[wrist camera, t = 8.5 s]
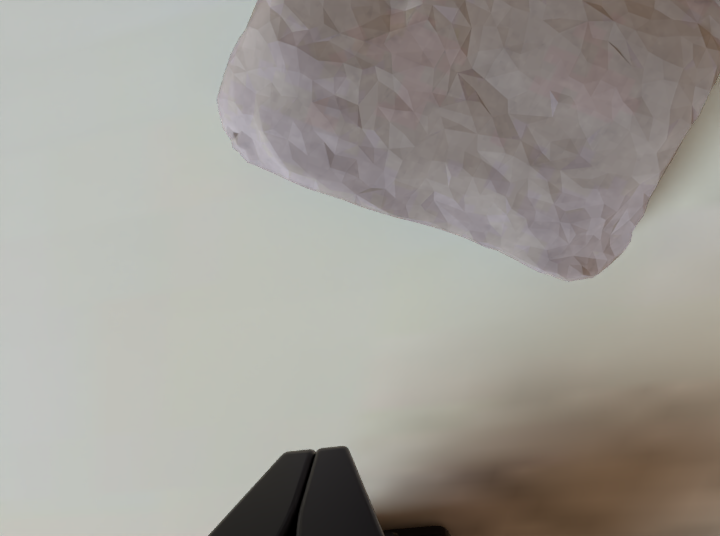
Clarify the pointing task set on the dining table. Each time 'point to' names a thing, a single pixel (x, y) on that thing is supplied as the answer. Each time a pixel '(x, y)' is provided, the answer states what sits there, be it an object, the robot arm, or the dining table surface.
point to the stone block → (478, 112)
